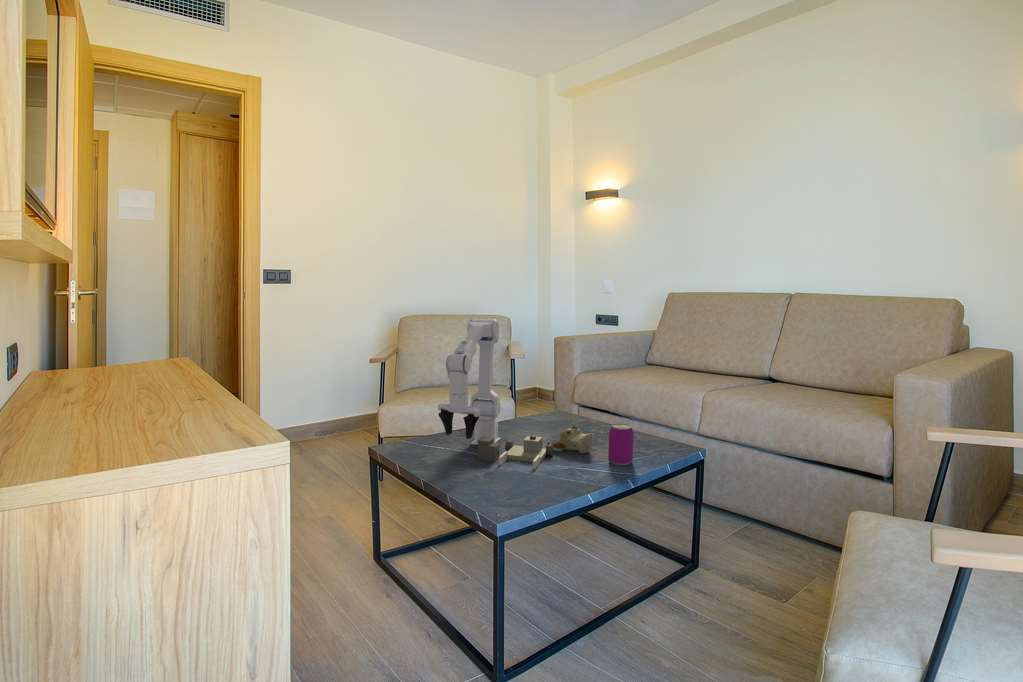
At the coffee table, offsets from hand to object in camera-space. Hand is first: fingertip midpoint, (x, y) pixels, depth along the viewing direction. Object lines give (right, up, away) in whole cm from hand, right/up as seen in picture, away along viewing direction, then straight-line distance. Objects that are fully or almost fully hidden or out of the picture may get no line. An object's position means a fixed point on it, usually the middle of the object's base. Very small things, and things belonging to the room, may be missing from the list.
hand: (459, 436), depth 175 cm
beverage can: (+51, -10, +7) cm, 52 cm away
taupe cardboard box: (+9, -9, +9) cm, 16 cm away
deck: (+20, -9, +9) cm, 24 cm away
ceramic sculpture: (+37, -8, +19) cm, 42 cm away
